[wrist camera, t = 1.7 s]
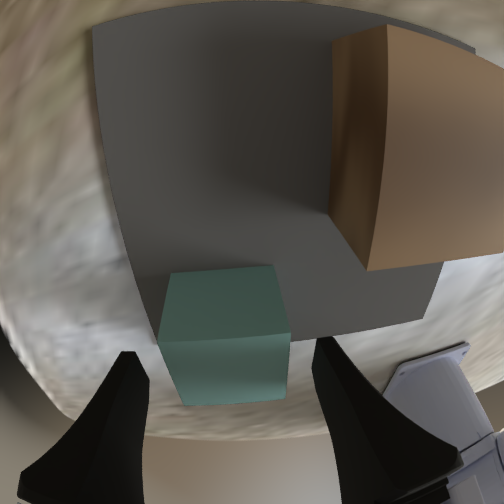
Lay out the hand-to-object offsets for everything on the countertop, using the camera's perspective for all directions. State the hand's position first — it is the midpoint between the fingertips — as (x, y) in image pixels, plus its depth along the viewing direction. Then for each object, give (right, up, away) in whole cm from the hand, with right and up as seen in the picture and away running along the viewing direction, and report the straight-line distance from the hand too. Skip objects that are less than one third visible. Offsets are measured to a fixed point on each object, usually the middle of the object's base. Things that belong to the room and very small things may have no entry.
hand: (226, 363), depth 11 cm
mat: (+4, +6, +1) cm, 7 cm away
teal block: (0, +2, +3) cm, 3 cm away
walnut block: (+7, +9, -1) cm, 12 cm away
